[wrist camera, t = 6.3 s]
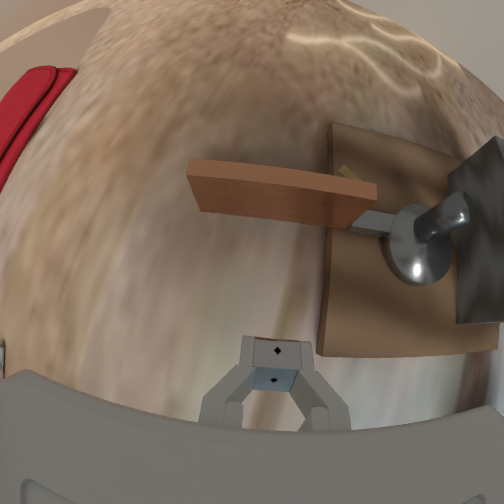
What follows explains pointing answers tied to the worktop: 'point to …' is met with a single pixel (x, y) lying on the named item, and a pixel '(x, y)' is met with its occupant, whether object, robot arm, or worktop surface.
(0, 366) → the mobile phone
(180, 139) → the worktop surface
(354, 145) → the stand
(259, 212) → the wooden lever
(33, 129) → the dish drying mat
